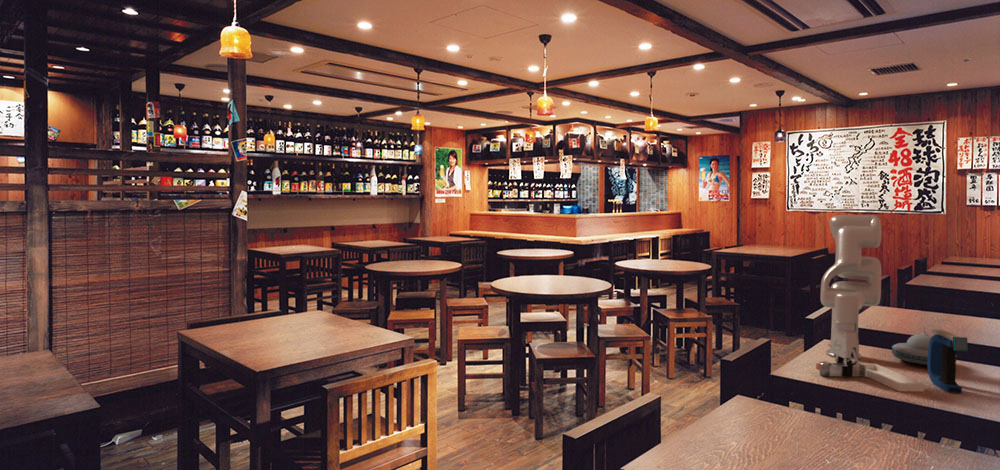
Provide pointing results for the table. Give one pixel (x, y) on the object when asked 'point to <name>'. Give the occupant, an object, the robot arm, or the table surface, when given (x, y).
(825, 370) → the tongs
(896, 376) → the tongs rest
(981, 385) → the table surface
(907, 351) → the toy
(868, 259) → the robot arm
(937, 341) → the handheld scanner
